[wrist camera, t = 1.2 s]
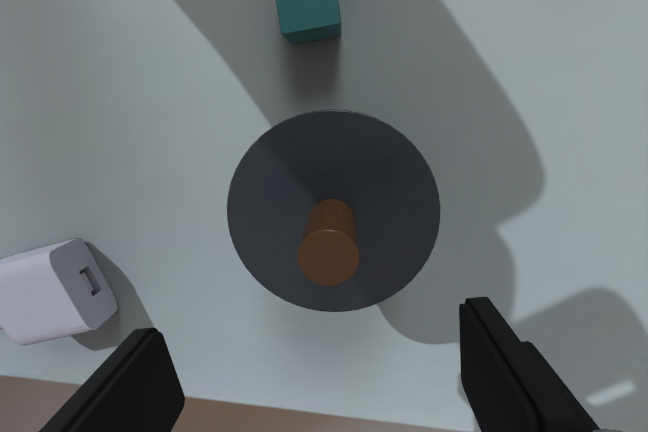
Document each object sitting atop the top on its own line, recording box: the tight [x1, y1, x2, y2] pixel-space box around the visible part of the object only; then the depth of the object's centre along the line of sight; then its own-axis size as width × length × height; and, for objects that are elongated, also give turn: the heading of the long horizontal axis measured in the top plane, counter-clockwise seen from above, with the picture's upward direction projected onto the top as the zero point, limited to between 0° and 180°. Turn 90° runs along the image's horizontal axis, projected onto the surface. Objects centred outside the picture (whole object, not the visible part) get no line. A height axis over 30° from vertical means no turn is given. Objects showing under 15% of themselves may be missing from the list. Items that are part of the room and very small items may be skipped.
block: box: [276, 0, 341, 44], centre depth 26 cm, size 4×4×4 cm
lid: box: [227, 110, 440, 312], centre depth 18 cm, size 13×13×6 cm
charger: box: [0, 238, 117, 346], centre depth 36 cm, size 5×9×15 cm
